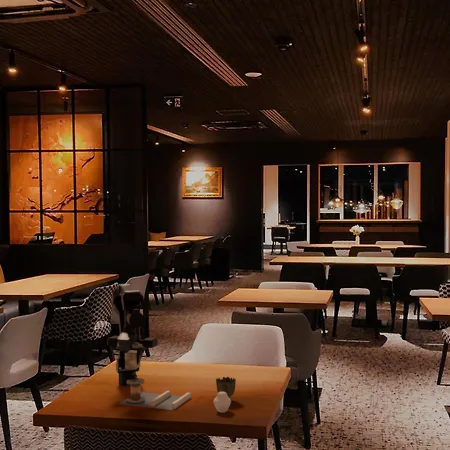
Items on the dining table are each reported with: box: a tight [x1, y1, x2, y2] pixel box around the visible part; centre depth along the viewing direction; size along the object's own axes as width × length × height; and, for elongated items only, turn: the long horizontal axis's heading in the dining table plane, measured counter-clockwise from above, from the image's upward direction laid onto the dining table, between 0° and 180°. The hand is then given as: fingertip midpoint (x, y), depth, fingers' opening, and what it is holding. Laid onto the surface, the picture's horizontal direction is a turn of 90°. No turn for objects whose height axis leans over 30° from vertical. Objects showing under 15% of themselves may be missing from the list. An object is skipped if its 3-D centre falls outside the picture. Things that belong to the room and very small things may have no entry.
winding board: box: [118, 390, 192, 411], centre depth 235 cm, size 22×16×3 cm
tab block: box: [125, 350, 141, 369], centre depth 245 cm, size 4×5×6 cm
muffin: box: [212, 392, 232, 413], centre depth 226 cm, size 6×6×7 cm
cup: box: [215, 376, 237, 401], centre depth 238 cm, size 8×7×8 cm
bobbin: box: [126, 377, 145, 404], centre depth 234 cm, size 6×6×8 cm
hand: (132, 364), depth 245 cm, fingers closed on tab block, 4 cm apart
